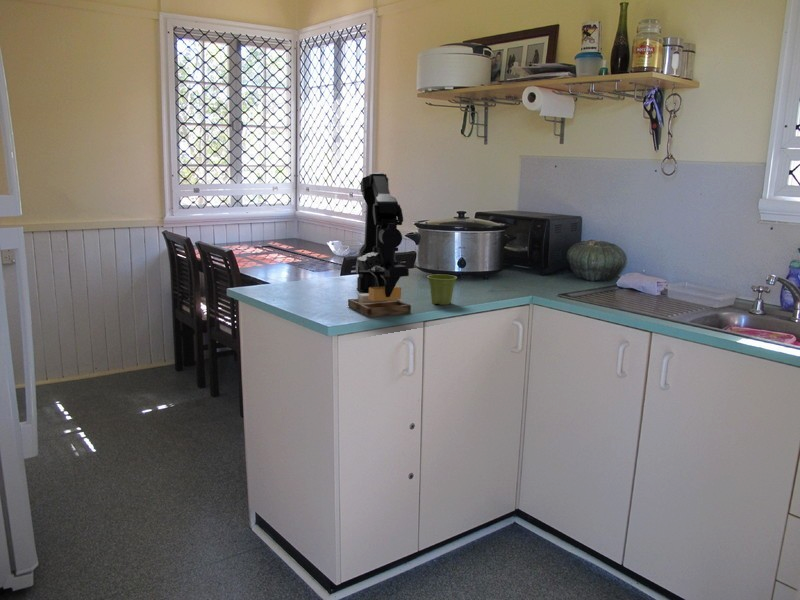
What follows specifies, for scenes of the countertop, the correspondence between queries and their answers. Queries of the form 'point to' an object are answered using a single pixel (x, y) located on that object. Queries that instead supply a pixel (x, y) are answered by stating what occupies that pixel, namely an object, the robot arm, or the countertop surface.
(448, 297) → the plant pot
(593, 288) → the countertop surface
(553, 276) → the countertop surface
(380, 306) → the slot board
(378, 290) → the tall amber prism
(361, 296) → the off-white square pillar
